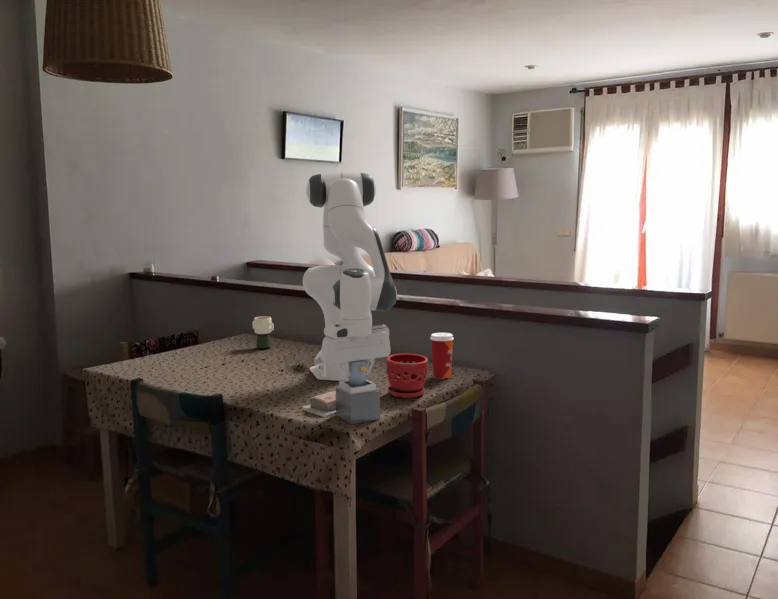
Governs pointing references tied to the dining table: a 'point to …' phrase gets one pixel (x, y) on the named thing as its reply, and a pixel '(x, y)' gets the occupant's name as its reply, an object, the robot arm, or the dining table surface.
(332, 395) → the packaged product
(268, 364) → the dining table surface
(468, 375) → the dining table surface
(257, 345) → the character mug
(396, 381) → the plant pot
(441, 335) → the coffee cup
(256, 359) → the dining table surface
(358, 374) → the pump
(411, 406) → the dining table surface
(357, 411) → the grey hollow box
